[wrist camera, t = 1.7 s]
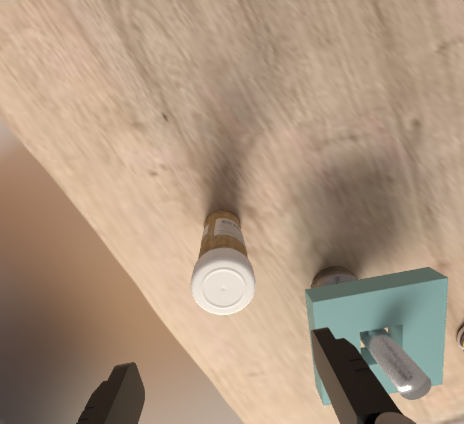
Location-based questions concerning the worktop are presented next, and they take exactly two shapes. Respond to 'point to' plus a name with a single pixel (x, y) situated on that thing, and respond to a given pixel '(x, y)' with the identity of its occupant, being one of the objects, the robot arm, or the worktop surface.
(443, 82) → the worktop surface
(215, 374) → the worktop surface
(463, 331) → the supplement bottle
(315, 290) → the collar
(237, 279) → the sprinkles bottle
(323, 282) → the grey peg
